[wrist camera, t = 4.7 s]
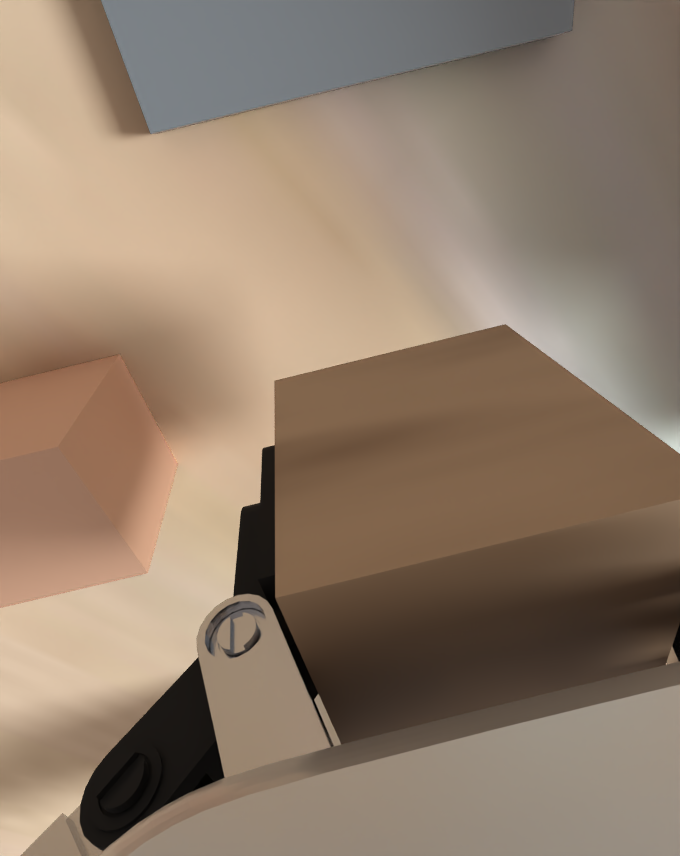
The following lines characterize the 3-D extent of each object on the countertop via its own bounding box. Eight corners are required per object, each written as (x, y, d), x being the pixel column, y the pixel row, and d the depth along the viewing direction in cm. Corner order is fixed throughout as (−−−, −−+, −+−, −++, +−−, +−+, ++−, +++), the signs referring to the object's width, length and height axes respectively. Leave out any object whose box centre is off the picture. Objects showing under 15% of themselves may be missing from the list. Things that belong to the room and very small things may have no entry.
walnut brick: (506, 499, 13) (649, 712, 8) (326, 543, 13) (359, 783, 8) (505, 324, 10) (725, 487, 5) (274, 380, 10) (275, 597, 5)
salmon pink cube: (178, 463, 20) (147, 573, 15) (59, 491, 20) (-10, 610, 15) (120, 353, 17) (57, 446, 12) (-21, 387, 17) (-140, 493, 12)
